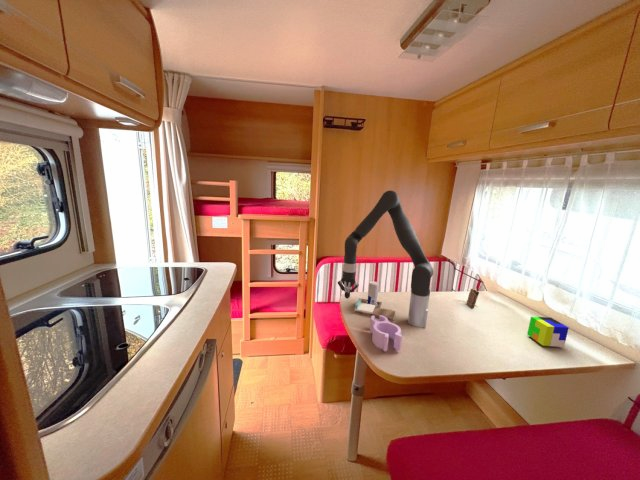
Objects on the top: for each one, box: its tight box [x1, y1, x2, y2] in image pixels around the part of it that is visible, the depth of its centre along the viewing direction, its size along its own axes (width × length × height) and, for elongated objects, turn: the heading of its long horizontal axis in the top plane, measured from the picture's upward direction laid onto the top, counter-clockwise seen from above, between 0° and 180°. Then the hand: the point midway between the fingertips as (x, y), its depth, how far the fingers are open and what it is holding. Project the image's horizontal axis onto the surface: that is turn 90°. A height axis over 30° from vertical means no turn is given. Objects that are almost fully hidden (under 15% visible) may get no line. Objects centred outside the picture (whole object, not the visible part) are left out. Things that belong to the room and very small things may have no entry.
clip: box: [369, 315, 403, 352], centre depth 125 cm, size 20×12×7 cm, turn 10°
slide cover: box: [354, 297, 375, 314], centre depth 152 cm, size 10×10×4 cm
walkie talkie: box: [458, 282, 485, 309], centre depth 166 cm, size 13×13×18 cm
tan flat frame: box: [353, 298, 396, 322], centre depth 155 cm, size 22×19×2 cm
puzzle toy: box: [526, 316, 570, 348], centre depth 130 cm, size 10×10×10 cm
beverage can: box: [366, 280, 379, 307], centre depth 159 cm, size 6×6×15 cm
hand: (346, 297), depth 156 cm, fingers closed
